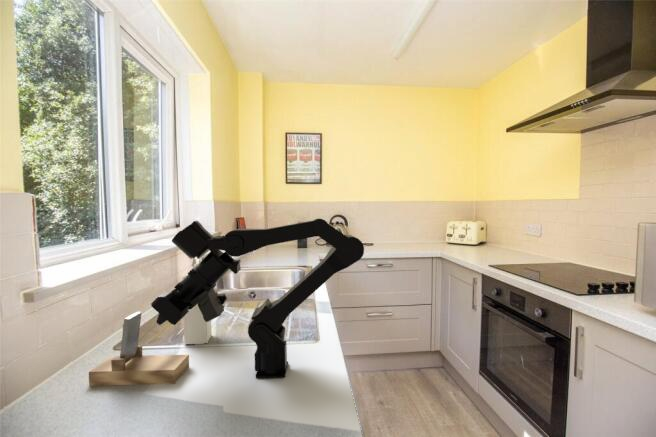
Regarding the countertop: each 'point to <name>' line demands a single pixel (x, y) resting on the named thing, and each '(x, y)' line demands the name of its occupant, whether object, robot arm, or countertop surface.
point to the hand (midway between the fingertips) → (158, 323)
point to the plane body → (139, 370)
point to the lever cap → (130, 336)
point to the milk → (196, 326)
